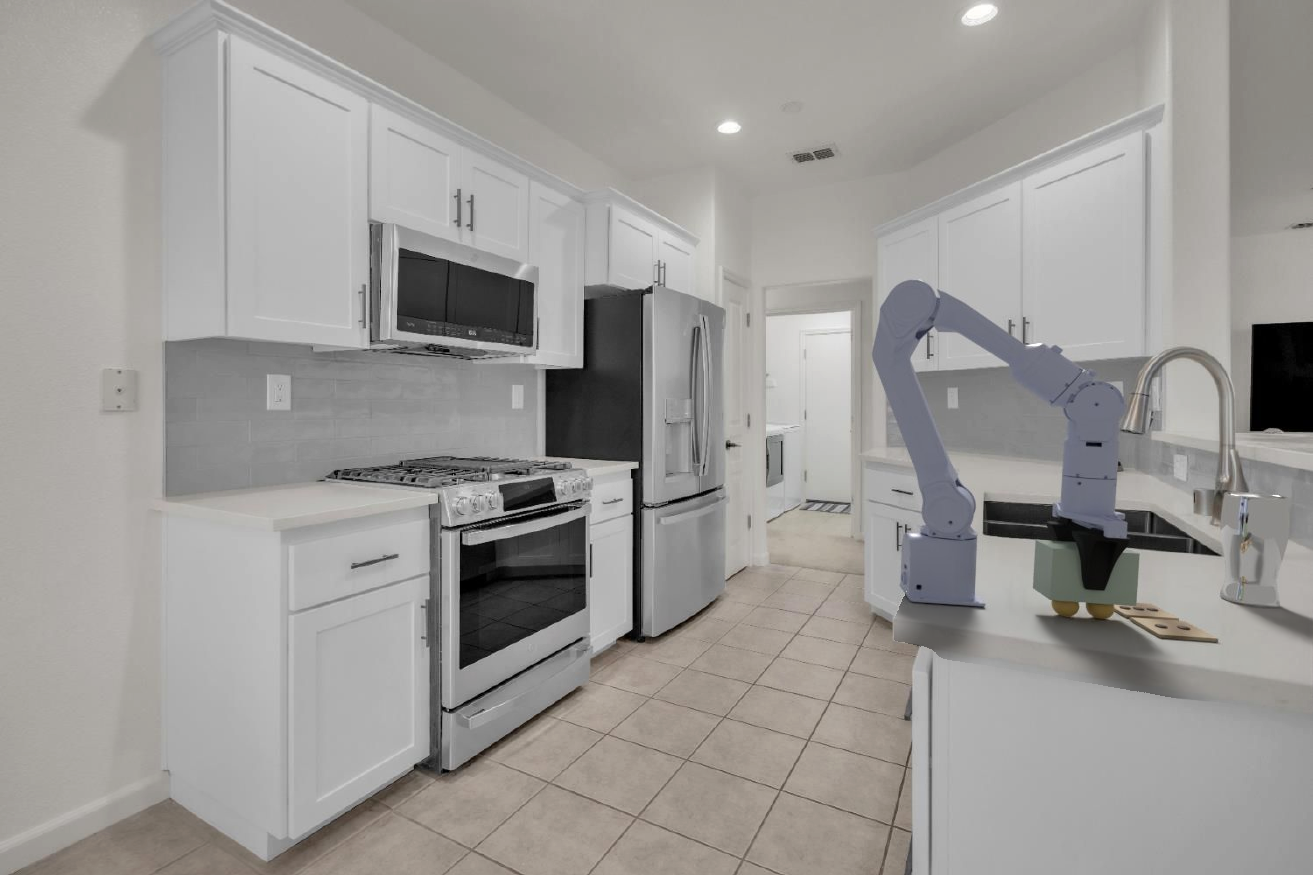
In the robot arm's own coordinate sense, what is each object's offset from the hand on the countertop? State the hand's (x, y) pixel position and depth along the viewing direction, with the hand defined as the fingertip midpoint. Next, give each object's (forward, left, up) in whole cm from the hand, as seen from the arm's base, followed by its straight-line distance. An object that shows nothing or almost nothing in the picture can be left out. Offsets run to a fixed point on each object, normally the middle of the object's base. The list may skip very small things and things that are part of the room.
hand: (1082, 582), depth 79 cm
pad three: (+9, +4, -4) cm, 10 cm away
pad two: (+9, -3, -4) cm, 10 cm away
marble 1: (-2, 0, -4) cm, 5 cm away
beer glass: (+27, +13, -5) cm, 30 cm away
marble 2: (+2, 0, -4) cm, 5 cm away
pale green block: (0, 0, -2) cm, 2 cm away
